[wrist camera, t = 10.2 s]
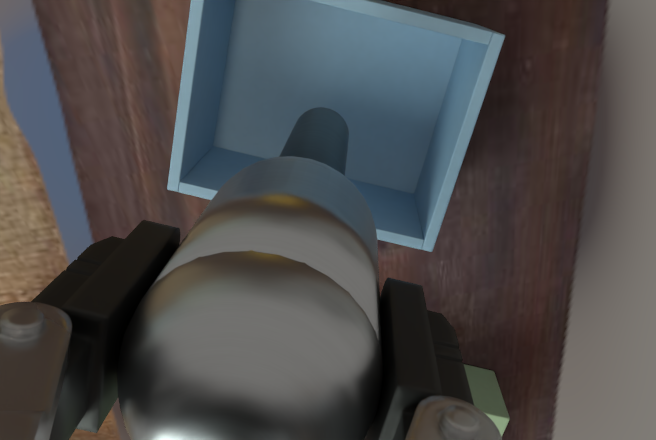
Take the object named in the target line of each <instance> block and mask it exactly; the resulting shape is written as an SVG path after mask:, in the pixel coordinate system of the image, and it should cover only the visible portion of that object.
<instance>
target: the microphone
mask: <svg viewBox="0 0 656 440" xmlns="http://www.w3.org/2000/svg"><path fill="white" fill-rule="evenodd" d="M348 141H349V130H348V126H347V124H346V122H345V120H344V119H343V117H342V116H341V115H340V114H338V113H337V112H336V111H334V110H332V109H329V108H324V107H318V108H313V109H310V110H308V111H306V112H305V113H303V114H302V115H301V116H300V117H299V119H298V120H297V122H296V124H295V126H294V128H293V130H292V132H291V134H290V136H289V138H288V140H287V142H286V144H285V146H284V148H283V150H282V152H281V154H280V156H279V157H273V158H269V159H265V160H261V161H258V162H256V163H254V164H252V165H249V166H247V167H245V168H243V169H242V170H241V171H239V172H238V173H237V174H236V175H234V176H233V177H232V178H230V179H229V180H228V181H227V182H226V183H225V184H224V185H223V186H222V187H221V188H220V190H219V191H218V192H217V193H216V195H215V196H214V197H213V199H212V200H211V202H210V203H209V204H208V206H207V207H206V209H205V210H204V212H203V213H202V214H201V216H200V217H199V219H198V220H197V221H196V223H195V224H194V226H193V227H192V228H191V230H190V231H189V233H188V234H187V236H186V237H185V238H184V240H183V241H182V243H181V244H180V245H179V247H178V248H177V250H176V251H175V252H174V254H173V255H172V257H171V258H170V259H169V261H168V262H167V264H166V265H165V267H164V268H163V269H162V271H161V272H160V274H159V275H158V276H157V278H156V279H155V281H154V282H153V283H152V285H151V286H150V288H149V289H148V291H147V292H146V293H145V295H144V296H143V298H142V299H141V301H140V303H139V304H138V306H137V308H136V310H135V312H134V314H133V317H132V319H131V321H130V323H129V325H128V327H127V329H126V331H125V333H124V337H123V341H122V346H121V350H120V355H119V361H118V368H117V392H118V398H119V403H120V409H121V413H122V416H123V420H124V425H125V428H126V430H127V432H128V434H129V435H130V438H131V439H132V440H364V439H365V437H366V435H367V432H368V430H369V428H370V426H371V424H372V421H373V419H374V417H375V415H376V412H377V408H378V403H379V398H380V393H381V386H382V377H383V357H382V335H381V313H380V291H379V269H378V248H377V233H376V228H375V223H374V220H373V217H372V214H371V211H370V209H369V207H368V205H367V203H366V201H365V199H364V197H363V195H362V194H361V193H360V192H359V190H358V189H357V188H356V186H355V185H354V184H353V183H352V182H351V181H350V180H348V179H347V178H346V177H345V169H346V160H347V151H348Z"/></svg>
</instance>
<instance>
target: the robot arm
mask: <svg viewBox="0 0 656 440" xmlns="http://www.w3.org/2000/svg"><path fill="white" fill-rule="evenodd" d="M179 242H180V229H179V228H176V227H172V226H168V225H163V224H159V223H155V222H151V221H146V220H143V221H142V222H141V223H140V224H139V225H138V226H137V227H136V228H135V229H134V230H133V231H132V232H131V233H130V234H129V235H128V236H127V238H126V239H121V238H117V237H113V236H112V237H109V238H107V239H104V240H102V241H99V242H97V243H94V244H92V245H90V246H89V247H88V248H87V249H86V250H85V251H84V252H83V253H82V254H81V255H80V256H79V257H78V259H77V260H74V261H73V262H72V263H71V264H70V265H69V266H68V267H67V269H66V271H65V270H64V271H63V272H62V273H61V274H60V275H59V276H58V277H57V278H55V279H54V280H53V281H52V282H51V283H50V284H49V285H48V286H47V287H46V288H45V289H44V290H43V291H42V292H41V293H40V294H39V295H38V296H37V297H36V298H35V299H33V300H32V301H31V302H16V303H9V304H4V305H1V306H0V440H69V438H70V437H71V435H72V434H73V432H74V430H75V429H76V428H77V429H81V430H86V431H90V432H95V433H97V431H98V430H99V428H100V426H101V425H102V423H103V421H104V420H105V418H106V416H107V415H108V413H109V411H110V410H111V408H112V406H113V405H114V403H115V401H116V400H117V398H118V392H117V368H118V361H119V355H120V350H121V346H122V341H123V337H124V333H125V331H126V329H127V327H128V325H129V323H130V321H131V319H132V317H133V314H134V312H135V310H136V308H137V306H138V304H139V303H140V301H141V299H142V298H143V296H144V295H145V293H146V292H147V291H148V289H149V288H150V286H151V285H152V283H153V282H154V281H155V279H156V278H157V276H158V275H159V274H160V272H161V271H162V269H163V268H164V267H165V265H166V264H167V262H168V261H169V259H170V258H171V257H172V255H173V254H174V252H175V251H176V250H177V248H178V247H179ZM380 313H381V335H382V357H383V377H382V386H381V393H380V398H379V403H378V408H377V412H376V415H375V417H374V419H373V421H372V424H371V426H370V428H369V430H368V432H367V435H366V437H365V439H364V440H502V437H501V434H500V432H499V429H498V428H497V426H496V425H495V423H494V422H493V421H492V420H491V419H490V418H489V417H488V416H487V415H486V414H485V413H484V412H482V411H481V410H480V409H478V408H477V407H475V406H474V402H473V398H472V395H471V391H470V387H469V383H468V379H467V375H466V371H465V367H464V363H462V356H461V352H460V349H459V344H458V340H457V336H456V332H455V330H454V328H453V327H452V326H451V325H450V323H449V322H448V321H447V320H446V318H445V317H444V316H443V315H442V314H440V313H436V312H432V311H428V310H427V308H426V303H425V298H424V292H423V288H422V286H421V285H417V284H413V283H408V282H404V281H400V280H396V279H391V278H387V280H386V281H385V284H384V286H383V289H382V293H381V296H380Z"/></svg>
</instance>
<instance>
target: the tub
mask: <svg viewBox="0 0 656 440" xmlns="http://www.w3.org/2000/svg"><path fill="white" fill-rule="evenodd" d="M504 38H505V35H504V34H501V33H499V32H496V31H493V30H491V29H488V28H485V27H482V26H480V25H477V24H474V23H470V22H466V21H462V20H458V19H454V18H450V17H446V16H442V15H438V14H434V13H430V12H426V11H422V10H418V9H414V8H410V7H406V6H402V5H398V4H394V3H390V2H386V1H382V0H191V5H190V13H189V21H188V29H187V37H186V45H185V53H184V60H183V68H182V76H181V84H180V92H179V100H178V108H177V115H176V123H175V131H174V139H173V147H172V155H171V163H170V171H169V178H168V186H167V189H168V190H172V191H176V192H178V191H179V192H180V193H184V194H188V195H193V196H197V197H201V198H205V199H210V200H212V199H213V197H214V196H215V195H216V193H217V192H218V191H219V190H220V188H221V187H222V186H223V185H224V184H225V183H226V182H227V181H228V180H229V179H230V178H232V177H233V176H234V175H236V174H237V173H238V172H239V171H241V170H242V169H243V168H245V167H247V166H249V165H252V164H254V163H256V162H258V161H261V160H265V159H269V158H273V157H279V156H280V154H281V152H282V150H283V148H284V146H285V144H286V142H287V140H288V138H289V136H290V134H291V132H292V130H293V128H294V126H295V124H296V122H297V120H298V119H299V117H300V116H301V115H302V114H303V113H305V112H306V111H308V110H310V109H313V108H318V107H324V108H329V109H332V110H334V111H336V112H337V113H338V114H340V115H341V116H342V117H343V119H344V120H345V122H346V124H347V126H348V130H349V141H348V151H347V160H346V169H345V177H346V178H347V179H348V180H350V181H351V182H352V183H353V184H354V185H355V186H356V188H357V189H358V190H359V192H360V193H361V194H362V195H363V197H364V199H365V201H366V203H367V205H368V207H369V209H370V211H371V214H372V217H373V220H374V223H375V228H376V233H377V239H378V240H383V241H387V242H391V243H395V244H400V245H404V246H408V247H412V248H416V249H422V250H426V251H430V252H432V251H433V248H434V245H435V242H436V239H437V236H438V233H439V230H440V227H441V224H442V221H443V218H444V215H445V213H446V210H447V207H448V204H449V201H450V198H451V195H452V192H453V189H454V186H455V183H456V180H457V177H458V174H459V171H460V168H461V165H462V162H463V159H464V156H465V153H466V151H467V148H468V145H469V142H470V139H471V136H472V133H473V130H474V127H475V124H476V121H477V118H478V115H479V112H480V109H481V106H482V103H483V100H484V97H485V94H486V92H487V89H488V86H489V83H490V80H491V77H492V74H493V71H494V68H495V65H496V62H497V59H498V56H499V53H500V50H501V47H502V44H503V41H504Z"/></svg>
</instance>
